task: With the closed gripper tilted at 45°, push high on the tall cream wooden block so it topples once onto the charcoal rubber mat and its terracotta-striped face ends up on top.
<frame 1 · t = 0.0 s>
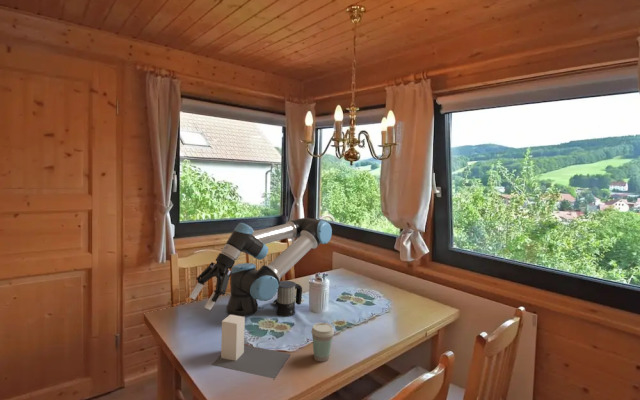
hand: (199, 303, 136), 15 cm above the table, tool tilted 35°, fingers open, 13 cm apart
coffee cup: (321, 357, 129), on the table
milk frother: (283, 310, 170), on the table
charcoal mat: (252, 360, 124), on the table
cream block: (232, 355, 126), point 1 cm above the table, touching charcoal mat
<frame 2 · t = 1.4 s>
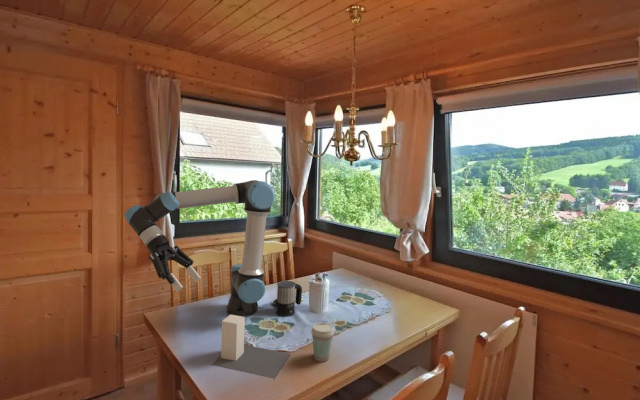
hand: (189, 284, 129), 25 cm above the table, tool tilted 45°, fingers open, 10 cm apart
nothing on the table moved.
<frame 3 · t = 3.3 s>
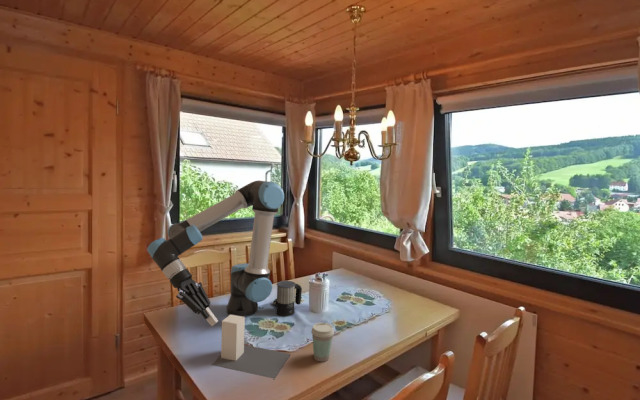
hand: (214, 323, 126), 12 cm above the table, tool tilted 45°, fingers closed
nothing on the table moved.
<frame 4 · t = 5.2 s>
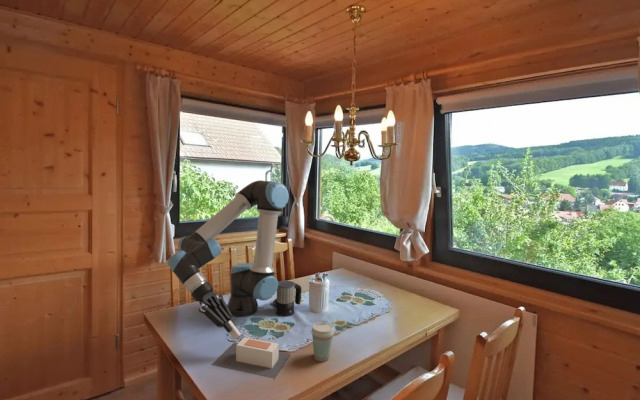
hand: (237, 336, 125), 8 cm above the table, tool tilted 45°, fingers closed
cream block: (240, 348, 125), point 4 cm above the table, tilted 90°, touching charcoal mat
everything else where it was.
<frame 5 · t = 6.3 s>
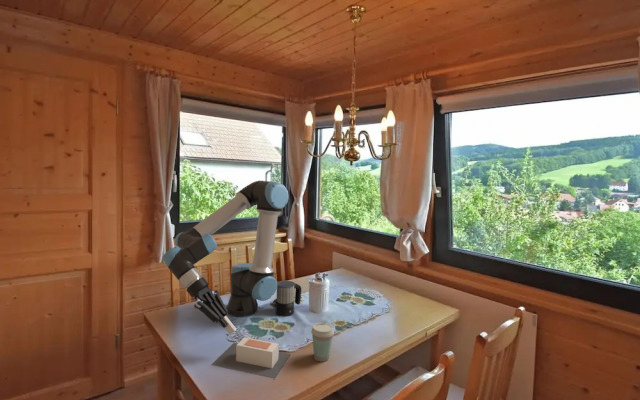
hand: (233, 332, 125), 10 cm above the table, tool tilted 45°, fingers closed
nothing on the table moved.
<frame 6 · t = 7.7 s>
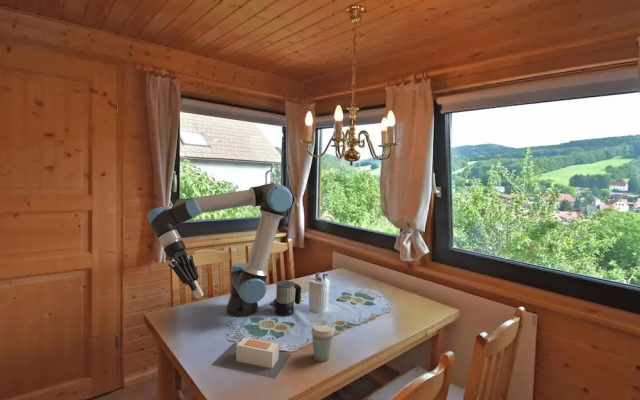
hand: (200, 296, 132), 20 cm above the table, tool tilted 35°, fingers closed
nothing on the table moved.
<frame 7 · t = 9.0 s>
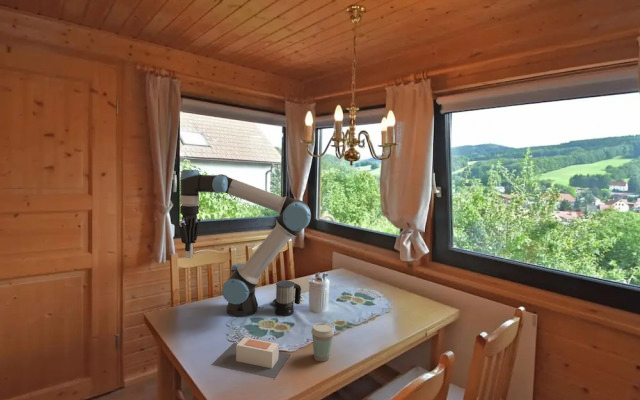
hand: (189, 257, 150), 29 cm above the table, tool pointing down, fingers closed
nothing on the table moved.
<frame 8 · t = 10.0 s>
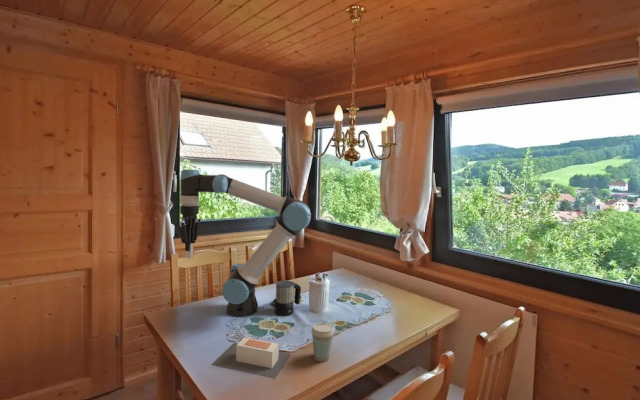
hand: (189, 257, 150), 29 cm above the table, tool pointing down, fingers closed
nothing on the table moved.
at the end: cream block tilted 90°; cream block inside the target area (0.6 cm from its centre), point 3.6 cm above the table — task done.
